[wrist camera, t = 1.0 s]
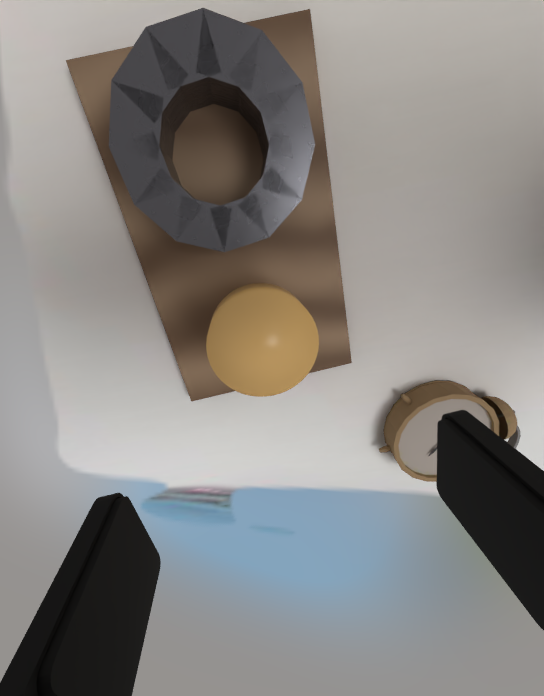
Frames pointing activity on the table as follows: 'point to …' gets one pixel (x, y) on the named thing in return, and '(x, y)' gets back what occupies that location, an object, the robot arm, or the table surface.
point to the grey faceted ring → (197, 92)
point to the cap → (261, 340)
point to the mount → (221, 188)
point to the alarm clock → (422, 418)
